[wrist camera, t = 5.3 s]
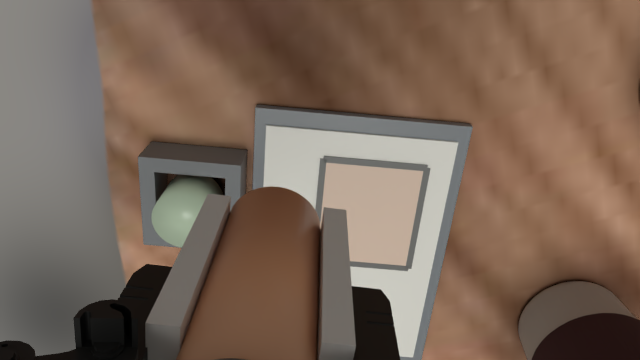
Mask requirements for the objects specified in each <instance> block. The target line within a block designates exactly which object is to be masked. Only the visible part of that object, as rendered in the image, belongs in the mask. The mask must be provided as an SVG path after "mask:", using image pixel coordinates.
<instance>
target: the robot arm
mask: <svg viewBox="0 0 640 360" xmlns="http://www.w3.org/2000/svg"><path fill="white" fill-rule="evenodd" d="M230 203H231V196H225V195H216V194H208V195H207V197H206V199H205V201H204V203H203V205H202V207H201V209H200V211H199V213H198V215H197V217H196V220H195V222H194V224H193V226H192V228H191V230H190V232H189V234H188V236H187V238H186V240H185V242H184V244H183V246H182V248H181V250H180V253H179V255H178V257H177V259H176V261H175V263H174V265H173V267H168V266H159V265H150V264H146V265H145V266H143V267H142V268H140V269H139V270H138V271H136V272H135V273H133V275H132V276H131V278H130V280H129V281H128V283H127V285H126V288H124V290H123V292H122V293H121V295H120V298H118V300H104V301H98V302H95V303H92V304H89V305H87V306H86V307H84V308H83V309H81V310H80V311H79V312H78V313H77V314H76V316H75V317H74V328H75V341H76V349H74V350H72V351H69V352H64V353H59V354H51V355H43V356H35V351H34V349H33V348H32V347H31V346H30V345H29V344H26V343H23V342H21V341H3V342H0V360H176V358H177V355H178V353H179V351H180V348H181V346H182V343H183V340H184V338H185V335H186V332H187V329H188V327H189V324H190V321H191V318H192V316H193V313H194V310H195V307H196V305H197V302H198V299H199V296H200V294H201V291H202V288H203V285H204V283H205V280H206V277H207V274H208V272H209V269H210V266H211V263H212V261H213V258H214V255H215V252H216V250H217V247H218V244H219V241H220V239H221V236H222V233H223V230H224V228H225V225H226V222H227V219H228V217H229V214H230ZM317 360H400V355H399V350H398V344H397V338H396V333H395V327H394V321H393V316H392V310H391V304H390V301H389V299H388V298H387V297H386V295H385V294H384V293H383V291H382V290H381V289H374V288H365V287H356V286H352V284H351V270H350V256H349V242H348V228H347V214H346V210H343V209H334V208H326V207H324V209H323V216H322V223H321V230H320V263H319V302H318V340H317Z"/></svg>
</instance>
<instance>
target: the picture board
mask: <svg viewBox="0 0 640 360" xmlns="http://www.w3.org/2000/svg"><path fill="white" fill-rule="evenodd" d="M472 128H473V127H472V125H471V124H468V123H457V122H446V121H434V120H423V119H412V118H401V117H390V116H379V115H367V114H356V113H345V112H334V111H323V110H312V109H301V108H289V107H278V106H267V105H256V107H255V135H254V163H253V190H254V189H258V188H262V187H270V186H273V187H282V188H286V189H290V190H292V191H294V192H297V193H298V194H300V195H302V196H303V197H304V198H305V199H307V200H308V201H309V202H310V203H311V205H312V206H313V207H314V209H315V211H316V212H317V215H318V217H319V221H320V228H321V223H322V216H323V209H324V207H326V208H334V209H343V210H346V214H347V228H348V242H349V256H350V270H351V284H352V286H356V287H365V288H374V289H381V290H382V291H383V293H384V294H385V295H386V297H387V298H388V299H389V301H390V304H391V310H392V316H393V321H394V327H395V333H396V338H397V344H398V350H399V355H400V360H421V359H422V354H423V350H424V345H425V341H426V336H427V332H428V327H429V323H430V318H431V313H432V309H433V304H434V300H435V295H436V291H437V286H438V282H439V277H440V273H441V268H442V264H443V259H444V255H445V250H446V246H447V241H448V237H449V232H450V227H451V223H452V218H453V214H454V209H455V205H456V200H457V196H458V191H459V187H460V182H461V178H462V173H463V169H464V164H465V160H466V155H467V150H468V146H469V141H470V137H471V132H472Z"/></svg>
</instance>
